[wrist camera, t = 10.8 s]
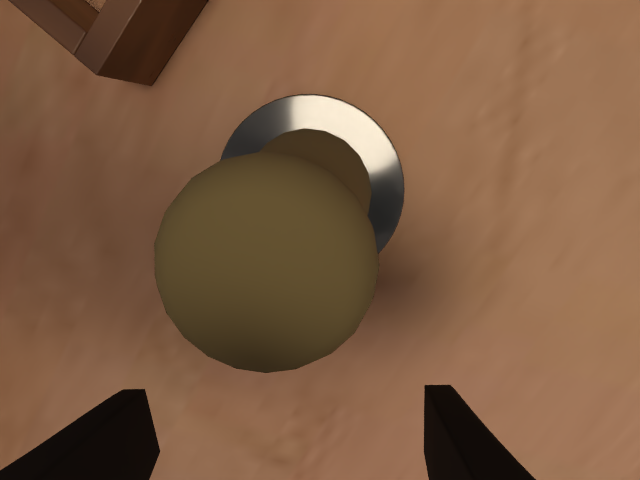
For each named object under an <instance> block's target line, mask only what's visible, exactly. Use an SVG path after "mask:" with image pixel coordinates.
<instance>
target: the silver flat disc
mask: <svg viewBox="0 0 640 480" xmlns="http://www.w3.org/2000/svg"><path fill="white" fill-rule="evenodd" d="M303 128H307V129H315V130H323V131H327V132H329V133H331V134H333V135H335V136H337V137H339V138H341V139H343V140H345V141H346V142H347V143H348V144H349V145H350V146H351V147H352V148H353V149H354V150H355V151H356V152H357V153H358V154H359V155H360V157H361V159H362V161H363V163H364V165H365V167H366V169H367V171H368V173H369V179H370V185H371V192H372V194H371V200H370V206H369V212H368V215H367V216H368V218H369V220H370V222H371V224H372V226H373V230H374V234H375V240H376V247H377V253H378V254H379V252H380V251H381V250H382V249H383V248H384V247H385V246H386V244H387V243H388V241H389V240H390V238H391V237H392V235H393V233H394V231H395V229H396V227H397V225H398V222H399V219H400V216H401V212H402V207H403V202H404V177H403V172H402V167H401V163H400V160H399V157H398V155H397V152H396V150H395V148H394V146H393V144H392V142H391V140H390V139H389V137H388V136H387V135H386V133H385V132H384V130H383V129H382V128H381V127H380V126H379V125H378V124H377V123H376V122H375V120H373V119H372V118H371V117H370V116H369V115H367V114H366V113H365V112H364V111H362V110H360V109H359V108H357V107H355V106H354V105H352V104H350V103H347V102H345V101H343V100H341V99H337V98H333V97H330V96H325V95H317V94H300V95H293V96H287V97H284V98H280V99H277V100H274V101H272V102H270V103H268V104H266V105H264V106H262V107H261V108H259V109H257V110H256V111H254V112H253V113H252V114H251V115H249V116H248V117H247V118H246V119H245V120H244V121H243V122H242V123H241V124H240V125H239V126H238V127H237V129H236V130H235V131H234V133H233V134H232V136H231V137H230V139H229V140H228V142H227V144H226V146H225V149H224V151H223V153H222V156H221V159H220V161H221V160H223V159H228V158H232V157H237V156H242V155H247V154H252V153H257V152H260V150H261V149H262V148H263V147H264V146H265V145H266V143H267V142H269V141H271V140H272V139H274V138H276V137H278V136H279V135H281V134H283V133H284V132H289V131H294V130H298V129H303Z"/></svg>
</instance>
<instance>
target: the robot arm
mask: <svg viewBox="0 0 640 480" xmlns="http://www.w3.org/2000/svg"><path fill="white" fill-rule="evenodd" d="M159 453H160V449H159V445H158V441H157V437H156V432H155V428H154V424H153V420H152V416H151V412H150V408H149V404H148V400H147V396H146V392H145V389H124V390H121V391H120V392H118V393H116V394H115V395H113V396H111V397H110V398H108V399H107V400H105V401H104V402H102V403H101V404H99V405H98V406H96V407H95V408H93V409H92V410H90V411H89V412H87V413H86V414H84V415H83V416H81V417H80V418H78V419H77V420H76V421H74V422H73V423H71V424H70V425H68V426H67V427H65V428H64V429H62V430H61V431H59V432H58V433H56V434H55V435H53V436H52V437H51V438H49V439H48V440H46V441H45V442H43V443H42V444H40V445H39V446H37V447H36V448H34V449H33V450H31V451H30V452H28V453H27V454H25V455H24V456H22V457H21V458H19V459H17V460H16V461H14V462H13V463H11V464H10V465H8V466H7V467H5V468H3V469H2V470H0V480H149V478H150V476H151V474H152V471H153V468H154V466H155V463H156V461H157V458H158V456H159ZM424 455H425V460H426V466H427V471H428V477H429V480H536V479H535V478H534V477H533V476H532V475H531V474H530V473H529V472H528V471H527V470H526V469H525V468H524V467H523V466H522V465H521V464H520V463H519V462H518V461H517V460H516V459H515V458H514V457H513V456H512V455H511V453H510V452H509V451H508V450H507V449H506V448H505V447H504V446H503V445H502V444H501V443H500V442H499V441H498V439H497V438H496V437H495V436H494V435H493V434H492V433H491V432H490V431H489V429H488V428H487V427H486V426H485V425H484V424H483V423H482V421H481V420H480V419H479V418H478V417H477V416H476V414H475V413H474V412H473V411H472V410H471V409H470V407H469V406H468V405H467V404H466V402H465V401H464V400H463V399H462V398H461V396H460V395H459V394H458V393H457V391H456V390H455V389H454V388H453V387H452V386H451V385H425V399H424Z"/></svg>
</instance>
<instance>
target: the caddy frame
mask: <svg viewBox="0 0 640 480" xmlns="http://www.w3.org/2000/svg"><path fill="white" fill-rule="evenodd" d="M9 1H10V2H11V3H12V4H13V5H15V6H16V7H17V8H18V9H19V10H21V11H22V12H23V13H24V14H25V15H26V16H28V17H29V18H30V19H31V20H32V21H34V22H35V23H36V24H37V25H38V26H39V27H41V28H42V29H43V30H44V31H45V32H47V33H48V34H49V35H50V36H51V37H52V38H54V39H55V40H56V41H57V42H58V43H60V44H61V45H62V46H63V47H64V48H65V49H67V50H68V51H69V52H70V53H71V54H73V55H75V57H76V58H77V59H78V60H79V61H80V62H82V63H83V64H84V65H85V66H86V67H87V68H89V69H90V70H91V71H92V72H93V73H95V74H96V75H98V76H103V77H108V78H113V79H118V80H123V81H128V82H134V83H139V84H144V85H149V86H151V85H152V84H153V82H154V81H155V79H156V78H157V76H158V75H159V73H160V72H161V70H162V69H163V67H164V66H165V64H166V63H167V61H168V60H169V58H170V57H171V55H172V54H173V52H174V51H175V49H176V48H177V46H178V45H179V43H180V41H181V40H182V38H183V37H184V35H185V34H186V32H187V31H188V29H189V28H190V26H191V25H192V23H193V22H194V20H195V19H196V17H197V16H198V14H199V13H200V11H201V10H202V8H203V7H204V5H205V4H206V2H207V1H208V0H106V2H105V4H104V5H103V7H102V9H101V11H100V12H99V13H98V12H97V11H96V10H95V9H94V8H93V7H91V6H90V5H89V4H88V3H87V2H86V1H85V0H9Z"/></svg>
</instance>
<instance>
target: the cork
mask: <svg viewBox="0 0 640 480" xmlns="http://www.w3.org/2000/svg"><path fill="white" fill-rule="evenodd" d="M371 194H372V192H371V185H370V179H369V173H368V171H367V169H366V167H365V165H364V163H363V161H362V159H361V157H360V155H359V154H358V153H357V152H356V151H355V150H354V149H353V148H352V147H351V146H350V145H349V144H348V143H347V142H346V141H345V140H343V139H341V138H339V137H337V136H335V135H333V134H331V133H329V132H327V131H323V130H315V129H307V128H303V129H298V130H294V131H289V132H284V133H283V134H281V135H279V136H278V137H276V138H274V139H272V140H271V141H269V142H267V143H266V145H265V146H264V147H263V148H262V149H261V150H260V152H257V153H252V154H247V155H242V156H237V157H232V158H228V159H223V160H221V161H219V162H217V163H216V164H214V165H213V166H211V167H209V168H208V169H206V170H204V171H203V172H201V173H199V174H198V175H196V176H194V177H193V178H191V180H190V181H189V182H188V183H187V185H186V186H185V187H184V188H183V190H182V191H181V192H180V193H179V195H178V196H177V197H176V198H175V200H174V201H173V202H172V203H171V205H170V206H169V207H168V209H167V210H166V212H165V214H164V217H163V219H162V222H161V225H160V228H159V231H158V234H157V237H156V240H155V243H154V252H155V279H156V283H157V287H158V290H159V292H160V295H161V298H162V301H163V304H164V307H165V310H166V313H167V314H168V316H169V317H170V318H171V320H172V321H173V322H174V324H175V325H176V327H177V328H178V329H179V331H180V332H181V334H182V335H183V336H184V338H186V339H187V340H188V341H189V342H191V343H192V344H193V345H194V346H196V347H197V348H198V349H200V350H201V351H202V352H203V353H205V354H206V355H207V356H208V357H211V358H213V359H215V360H218V361H220V362H222V363H225V364H227V365H229V366H232V367H234V368H236V369H243V370H250V371H256V372H263V373H269V372H277V371H285V370H293V369H297V368H300V367H302V366H305V365H307V364H309V363H311V362H314V361H316V360H318V359H320V358H323V357H325V356H327V355H329V354H331V353H332V352H334V351H335V350H336V349H337V348H338V347H339V346H340V345H341V344H343V343H344V342H345V341H346V340H347V339H348V338H349V337H350V336H352V335H353V334H354V333H355V331H356V329H357V327H358V326H359V324H360V322H361V320H362V319H363V317H364V315H365V313H366V311H367V310H368V308H369V306H370V304H371V302H372V299H373V297H374V292H375V287H376V281H377V276H378V270H379V259H378V253H377V247H376V240H375V234H374V230H373V226H372V224H371V222H370V220H369V218H368V216H367V215H368V212H369V206H370V200H371Z"/></svg>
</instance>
